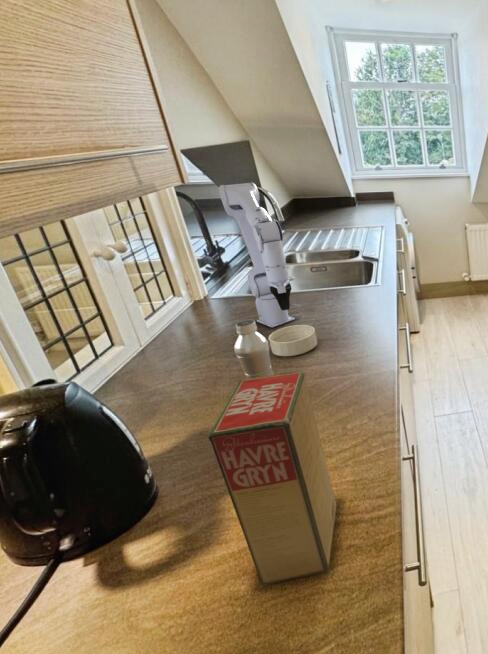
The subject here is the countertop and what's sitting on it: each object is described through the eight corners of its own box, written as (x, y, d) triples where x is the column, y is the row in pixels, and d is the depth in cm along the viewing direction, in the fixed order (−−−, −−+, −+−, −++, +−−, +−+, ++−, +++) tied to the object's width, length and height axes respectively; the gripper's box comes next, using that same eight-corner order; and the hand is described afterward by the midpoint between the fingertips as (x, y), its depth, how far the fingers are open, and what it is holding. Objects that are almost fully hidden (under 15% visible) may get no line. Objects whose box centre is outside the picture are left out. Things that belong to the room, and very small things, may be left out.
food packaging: (277, 512, 73) (237, 377, 63) (338, 501, 75) (308, 368, 65) (257, 588, 61) (203, 435, 51) (330, 571, 63) (292, 421, 53)
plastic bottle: (289, 399, 104) (269, 319, 96) (265, 415, 98) (241, 331, 90) (270, 393, 106) (248, 314, 98) (244, 408, 100) (220, 326, 93)
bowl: (263, 350, 127) (260, 336, 125) (302, 335, 136) (299, 321, 134) (287, 361, 121) (284, 346, 119) (326, 344, 129) (323, 330, 128)
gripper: (293, 268, 124) (303, 314, 129) (287, 257, 136) (297, 299, 141) (264, 272, 121) (276, 319, 126) (262, 260, 133) (272, 303, 138)
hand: (285, 309), depth 133 cm, fingers closed
